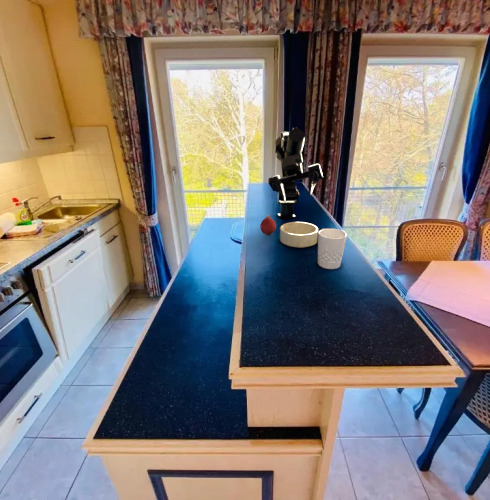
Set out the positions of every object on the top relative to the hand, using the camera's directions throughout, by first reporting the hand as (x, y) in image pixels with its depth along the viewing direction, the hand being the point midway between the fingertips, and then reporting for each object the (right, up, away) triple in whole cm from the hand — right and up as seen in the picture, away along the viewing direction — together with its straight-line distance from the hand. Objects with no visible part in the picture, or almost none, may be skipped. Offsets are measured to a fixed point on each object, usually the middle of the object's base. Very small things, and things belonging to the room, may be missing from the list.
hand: (297, 197), depth 97 cm
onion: (-10, -13, +9) cm, 18 cm away
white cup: (+8, -23, -12) cm, 27 cm away
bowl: (+1, -15, +4) cm, 15 cm away
